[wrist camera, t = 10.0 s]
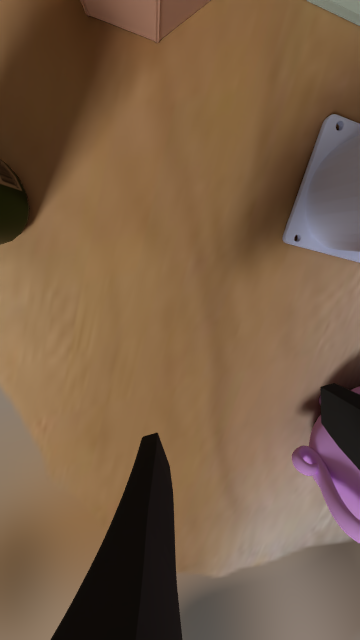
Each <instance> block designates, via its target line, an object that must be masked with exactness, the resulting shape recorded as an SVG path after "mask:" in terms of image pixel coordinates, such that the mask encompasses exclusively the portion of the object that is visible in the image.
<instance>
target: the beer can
mask: <svg viewBox="0 0 360 640" xmlns="http://www.w3.org/2000/svg"><path fill="white" fill-rule="evenodd" d="M29 209H30V208H29V203H28V197H27V194H26V192H25V190H24V188H23V186H22V184H21V182H20V180H19V178H18V176H17V175H16V174H15V173H14V172H13V171H12V169H11V168H10V167H9V166H8V165H7V164H6V163H5V162H3V161H2V160H1V159H0V244H4V243H7V242H10V241H12V240H13V239H15V238H16V237H17V236H18V235H20V234H21V233H22V231H23V229H24V227H25V225H26V223H27V221H28V217H29Z"/></svg>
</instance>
